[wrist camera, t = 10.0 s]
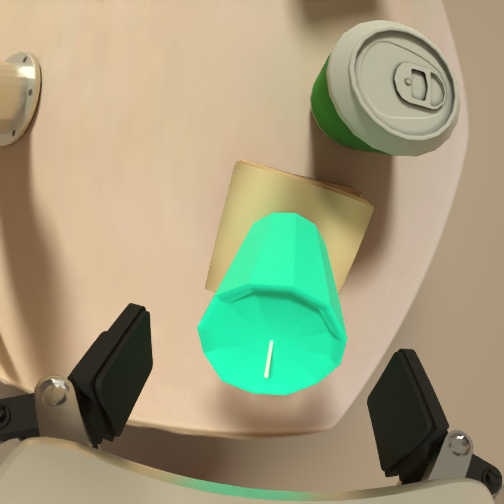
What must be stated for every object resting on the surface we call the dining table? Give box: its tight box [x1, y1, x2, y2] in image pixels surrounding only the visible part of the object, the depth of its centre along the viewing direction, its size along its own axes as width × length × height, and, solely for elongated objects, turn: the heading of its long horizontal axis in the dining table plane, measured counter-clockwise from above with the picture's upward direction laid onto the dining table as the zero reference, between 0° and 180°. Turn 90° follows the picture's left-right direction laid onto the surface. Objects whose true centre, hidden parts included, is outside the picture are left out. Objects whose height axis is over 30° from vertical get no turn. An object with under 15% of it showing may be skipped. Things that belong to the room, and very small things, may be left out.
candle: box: [197, 212, 347, 395], centre depth 15 cm, size 6×6×12 cm
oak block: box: [205, 160, 375, 295], centre depth 22 cm, size 10×10×3 cm
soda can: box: [310, 20, 460, 156], centre depth 15 cm, size 8×8×12 cm
